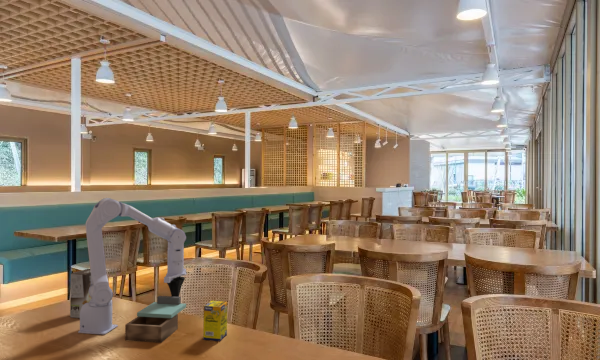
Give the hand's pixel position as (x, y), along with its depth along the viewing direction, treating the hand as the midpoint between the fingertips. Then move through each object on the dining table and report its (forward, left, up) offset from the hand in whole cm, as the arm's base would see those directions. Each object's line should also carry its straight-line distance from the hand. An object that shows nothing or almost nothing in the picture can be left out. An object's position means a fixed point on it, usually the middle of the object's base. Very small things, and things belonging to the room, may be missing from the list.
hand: (175, 297), depth 154 cm
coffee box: (-34, -2, -7) cm, 35 cm away
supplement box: (+21, -16, -7) cm, 28 cm away
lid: (0, -10, -2) cm, 10 cm away
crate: (0, -17, -7) cm, 19 cm away
